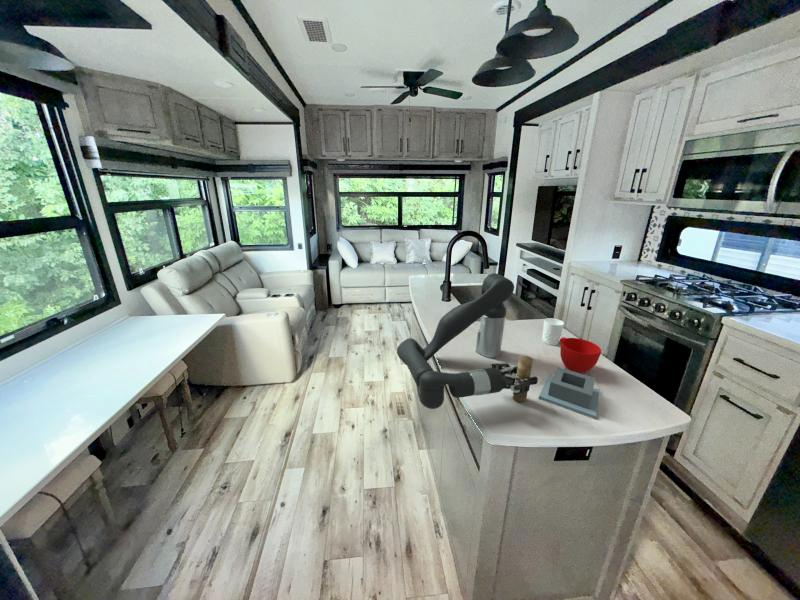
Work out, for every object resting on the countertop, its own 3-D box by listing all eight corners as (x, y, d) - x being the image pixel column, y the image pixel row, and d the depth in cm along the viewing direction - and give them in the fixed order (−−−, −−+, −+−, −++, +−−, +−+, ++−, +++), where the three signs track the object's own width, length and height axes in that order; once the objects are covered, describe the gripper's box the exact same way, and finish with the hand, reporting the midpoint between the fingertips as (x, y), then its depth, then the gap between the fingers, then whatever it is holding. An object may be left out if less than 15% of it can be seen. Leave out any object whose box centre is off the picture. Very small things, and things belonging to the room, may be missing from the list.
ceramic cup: (571, 354, 128) (576, 332, 125) (603, 377, 113) (610, 353, 109) (543, 356, 126) (547, 334, 123) (571, 380, 111) (577, 355, 107)
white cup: (540, 344, 136) (544, 323, 133) (540, 336, 143) (544, 316, 140) (560, 347, 134) (564, 326, 130) (558, 339, 141) (563, 319, 137)
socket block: (538, 398, 100) (541, 383, 98) (548, 376, 113) (551, 361, 111) (595, 419, 92) (600, 402, 90) (599, 392, 104) (603, 377, 102)
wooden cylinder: (511, 400, 99) (517, 359, 94) (514, 393, 103) (521, 354, 98) (524, 404, 97) (531, 363, 92) (527, 398, 100) (534, 357, 95)
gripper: (470, 378, 101) (515, 372, 105) (493, 407, 88) (544, 398, 92) (472, 358, 99) (518, 352, 103) (497, 384, 86) (548, 376, 90)
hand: (530, 374), depth 97 cm, fingers open, 5 cm apart
